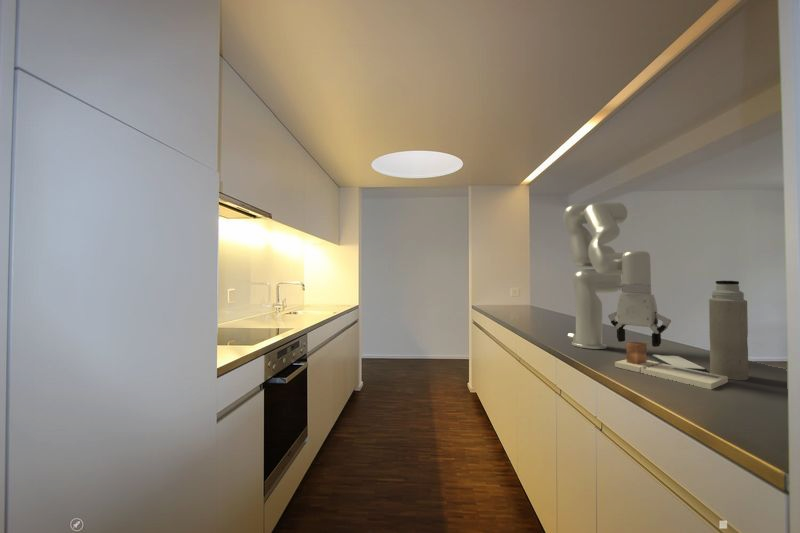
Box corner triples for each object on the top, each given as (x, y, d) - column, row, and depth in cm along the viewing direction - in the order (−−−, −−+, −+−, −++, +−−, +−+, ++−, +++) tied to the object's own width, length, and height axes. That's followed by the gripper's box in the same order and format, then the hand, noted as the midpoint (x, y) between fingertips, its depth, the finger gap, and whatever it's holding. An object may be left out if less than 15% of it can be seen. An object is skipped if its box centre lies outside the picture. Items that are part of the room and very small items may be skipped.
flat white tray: (640, 373, 99) (640, 367, 99) (659, 367, 105) (659, 362, 105) (710, 389, 85) (710, 383, 85) (727, 382, 91) (727, 376, 91)
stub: (614, 366, 105) (614, 343, 105) (634, 361, 111) (633, 339, 111) (639, 372, 99) (639, 347, 99) (658, 367, 105) (658, 343, 105)
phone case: (709, 374, 100) (678, 360, 116) (709, 369, 100) (678, 355, 116) (675, 372, 102) (649, 358, 118) (675, 367, 102) (649, 354, 118)
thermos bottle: (742, 374, 98) (741, 280, 99) (753, 382, 91) (751, 281, 92) (706, 370, 102) (705, 280, 103) (714, 377, 95) (713, 280, 96)
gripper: (602, 289, 111) (603, 340, 110) (663, 290, 96) (665, 349, 95) (614, 289, 115) (615, 338, 114) (674, 290, 100) (676, 347, 99)
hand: (638, 343), depth 105 cm, fingers open, 9 cm apart
